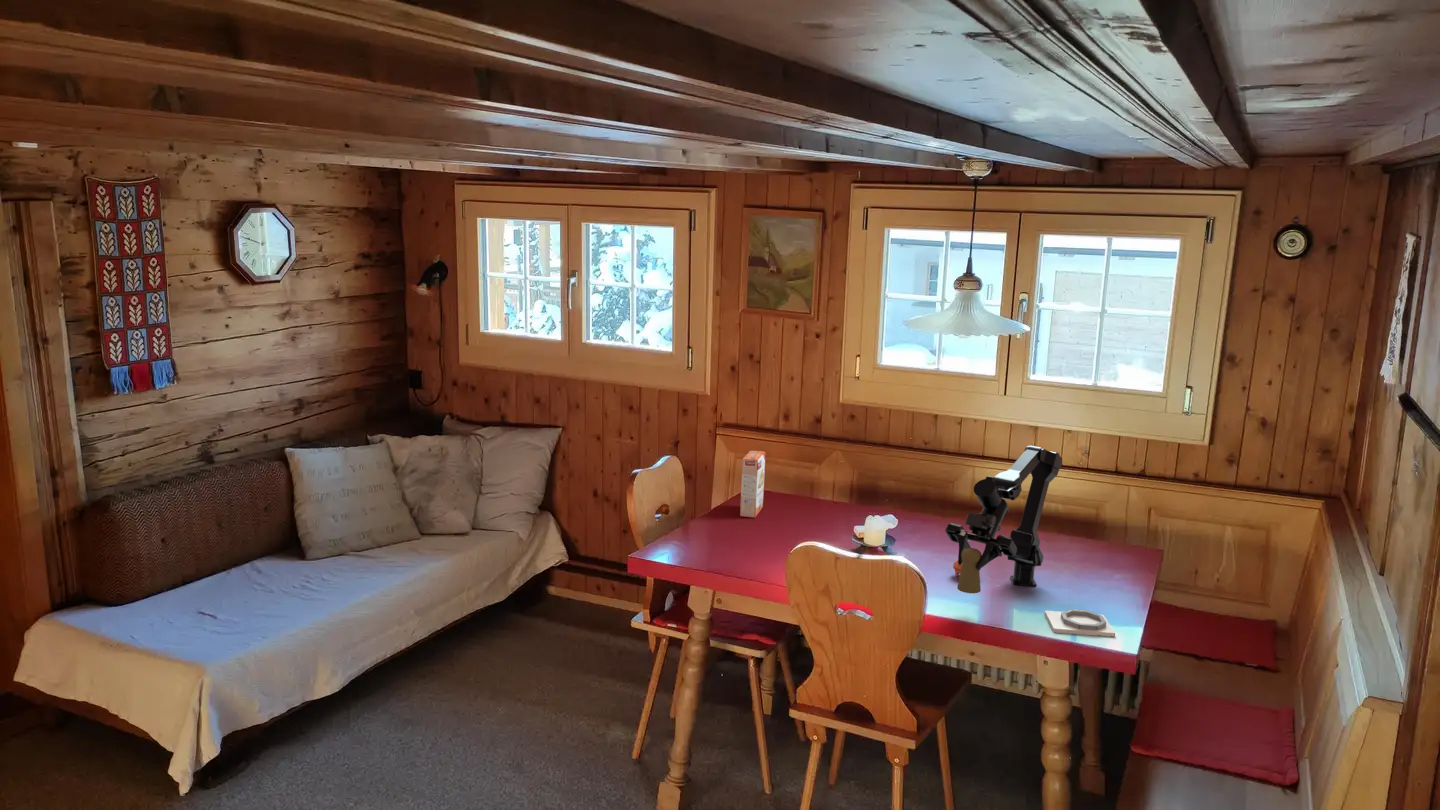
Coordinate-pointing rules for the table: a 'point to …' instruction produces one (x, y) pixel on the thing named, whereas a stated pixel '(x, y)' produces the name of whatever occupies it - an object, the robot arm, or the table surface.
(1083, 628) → the socket tray
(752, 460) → the cracker box
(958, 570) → the pot
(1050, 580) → the table surface
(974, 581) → the olive brown pawn
